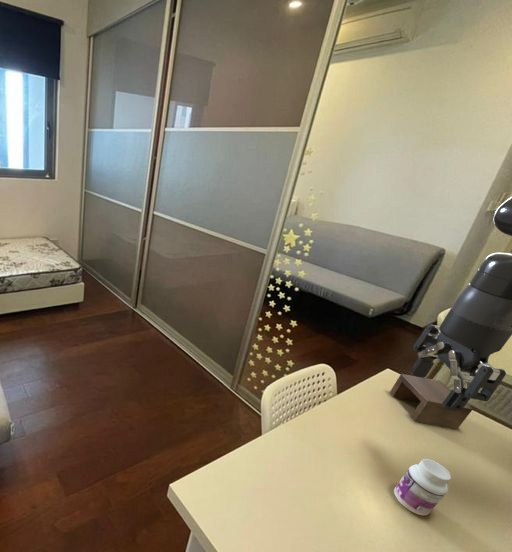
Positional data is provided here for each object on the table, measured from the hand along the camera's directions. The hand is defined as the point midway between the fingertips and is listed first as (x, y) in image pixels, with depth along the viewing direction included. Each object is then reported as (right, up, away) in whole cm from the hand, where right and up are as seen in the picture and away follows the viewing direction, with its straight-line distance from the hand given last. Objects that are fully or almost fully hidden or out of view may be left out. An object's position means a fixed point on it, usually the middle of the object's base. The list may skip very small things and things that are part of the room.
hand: (432, 390), depth 59 cm
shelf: (+23, -14, +26) cm, 37 cm away
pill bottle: (-2, -22, +2) cm, 22 cm away
